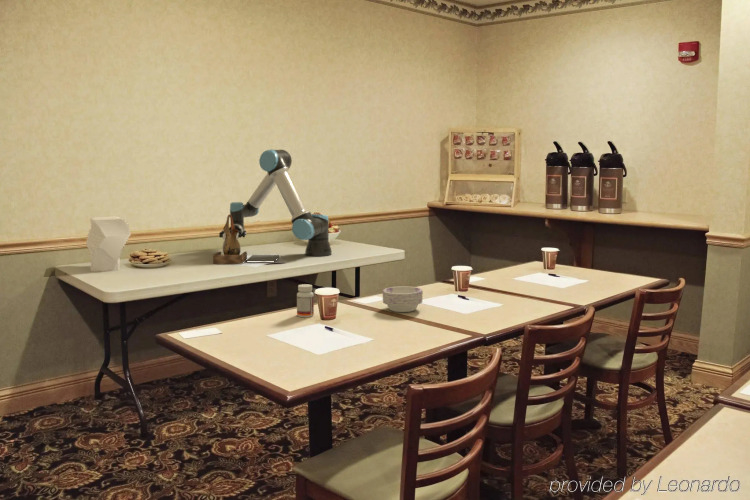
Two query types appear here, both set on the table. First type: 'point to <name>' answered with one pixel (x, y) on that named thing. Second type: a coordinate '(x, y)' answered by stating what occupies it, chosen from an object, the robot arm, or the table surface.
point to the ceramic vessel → (231, 239)
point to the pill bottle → (305, 301)
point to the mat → (263, 258)
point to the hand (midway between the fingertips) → (230, 236)
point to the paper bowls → (402, 298)
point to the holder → (229, 258)
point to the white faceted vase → (106, 242)
